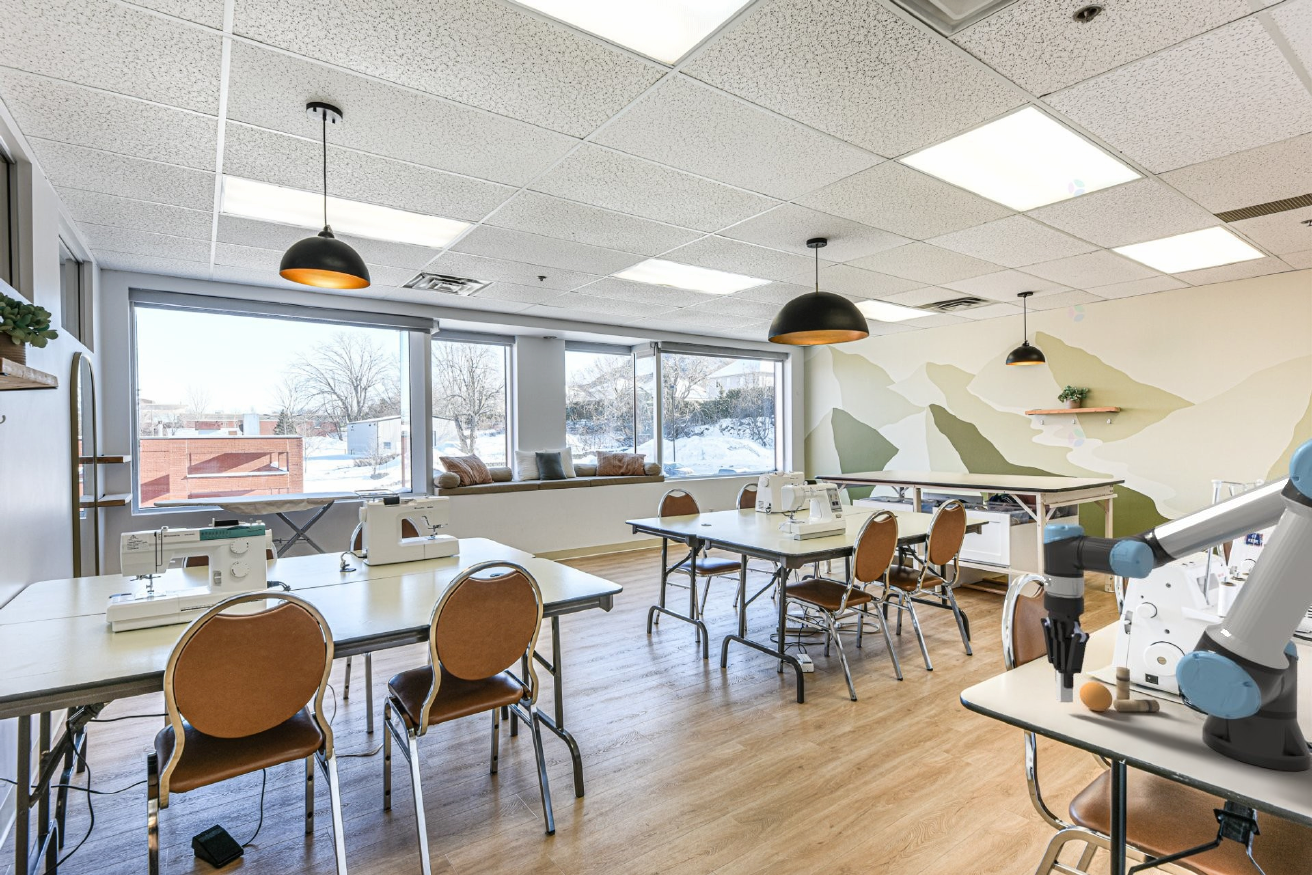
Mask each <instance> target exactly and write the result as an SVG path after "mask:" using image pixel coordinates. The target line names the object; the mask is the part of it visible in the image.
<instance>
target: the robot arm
mask: <svg viewBox="0 0 1312 875" xmlns="http://www.w3.org/2000/svg"><path fill="white" fill-rule="evenodd" d="M1288 471H1289V473H1286V474H1284V475H1282V476H1280V477H1277V478H1274V479H1272V480H1270V481H1267V482H1264V483H1261V484H1259V485H1257V486H1254V487H1252V488H1249V489H1247V490H1245V491H1242V492H1239V493H1237V494H1235V495H1231V496H1230V497H1226V498H1224V499H1221V500H1219V501H1216V502H1214V503H1212V504H1209V505H1207V506H1204V507H1202V508H1199V509H1197V510H1194V511H1191V512H1189V513H1186V514H1184V515H1182V516H1179V517H1177V518H1175V519H1172V520H1170V521H1166V522H1164V523H1162V524H1160V525H1156V526H1155V527H1152V528H1149V529H1147V530H1144V531H1141V532H1138V533H1136V534H1134V535H1128V536H1127V535H1126V536H1122V537H1120V536H1119V537H1114V538H1112V537H1111V538H1110V537H1100V536H1091V535H1088V534H1087V535H1086V534H1085V531H1084V527H1083V526H1082V525H1079V524H1074V523H1061V522H1060V523H1059V522H1057V523H1056V522H1055V523H1048V524H1046V525H1045V526H1044V528H1043V537H1042V538H1043V541H1042V545H1043V589H1044V591H1045V593H1044V594H1043V608H1044V609H1045V611H1047V612H1048V613H1047V617H1041V618H1040V623H1041V626H1042V629H1043V636H1044V642H1045V649H1046V653H1047V654H1046V655H1047V661H1048V663H1049V664H1052V666H1053V668H1054V670H1055V684H1056V686H1055V688H1056V691H1055V693H1056V694H1055V695H1056V697H1055V699H1056V701H1058V702H1060V703H1074V693H1073V692H1074V685H1075V684H1074V674H1081V673H1082V671H1083V663H1084V660H1085V654H1086V647H1087V643H1088V641H1089V640H1090V637H1091V635H1090V633H1088V632H1085V631H1083V629H1082V628H1081V627H1082V623H1081V620H1080V616H1081V615H1084V613H1085V597H1083V596H1084V594H1085V572H1093V573H1097V574H1104V575H1105V574H1106V575H1111V576H1117V577H1122V578H1125V579H1128V578H1130V579H1140V580H1141V579H1143V580H1144V579H1146V578H1147V577H1148V576H1149V575H1150V574H1152V573H1151V572H1152V571H1153V570H1156V569H1158V568H1162V567H1164V566H1166V565H1167V564H1169V563H1173V562H1175V561H1177V560H1179V559H1182V558H1183V559H1184V558H1186V557H1189V556H1191V555H1194V554H1197V553H1199V552H1203V551H1205V550H1208V549H1211V548H1214V547H1217V546H1220V545H1222V544H1226V543H1228V542H1231V541H1234V540H1237V539H1240V538H1242V537H1245V536H1249V535H1251V534H1254V533H1257V532H1260V531H1262V530H1265V529H1268V528H1272V527H1274V529H1273V531H1272V533H1271V534H1270V536H1269V538H1268V540H1267V541H1266V543H1265V545H1264V547H1263V549H1262V550H1261V552H1260V554H1259V556H1258V557H1257V560H1256V561H1255V563H1254V564H1253V566H1252V568H1251V570H1250V572H1249V573H1248V574H1247V577H1246V579H1245V581H1244V582H1243V584H1242V585H1241V588H1240V590H1239V591H1238V593H1237V594H1236V597H1235V598H1234V600H1233V602H1232V604H1231V606H1230V607H1229V609H1228V611H1227V612H1226V614H1225V616H1224V617H1223V620H1222V621H1221V623H1217V624H1211V625H1207V626H1206V628H1205V629H1204V630H1203V633H1202V634H1201V636H1200V638H1199V640H1198V641H1197V643H1196V645H1195V647H1194V648H1193V650H1192V651H1191V652H1188V653H1187V654H1184V655H1183V657H1181V659H1180V660H1179V661H1178V663H1177V665H1176V669H1175V678H1176V682H1177V685H1178V686H1179V689H1180V690H1181V693H1182V694H1183V695H1184V696H1185V697H1186V699H1188V701H1189V702H1190V703H1191V704H1193V705H1194V706H1195V707H1197V708H1198V709H1200V710H1201V711H1203V712H1205V713H1207V714H1208V715H1207V717H1206V720H1205V721H1204V723H1203V726H1202V730H1201V731H1202V732H1201V733H1202V741H1203V742H1204V744H1205V745H1207V746H1208V747H1210V748H1211V749H1213V750H1215V751H1216V752H1218V753H1221V754H1222V755H1225V756H1227V757H1228V758H1232V759H1235V760H1237V761H1240V762H1244V763H1247V764H1250V765H1254V766H1258V767H1262V768H1267V769H1271V770H1276V771H1277V770H1278V771H1287V772H1300V771H1306V770H1309V767H1310V768H1311V766H1310V765H1311V751H1310V748H1309V747H1308V744H1307V741H1306V739H1305V737H1304V735H1303V732H1302V729H1301V727H1300V725H1299V722H1298V661H1299V656H1298V649H1297V648H1298V647H1297V645H1296V644H1295V642H1293V641H1292V640H1291V639H1292V638H1293V636H1294V634H1295V633H1296V630H1297V629H1298V627H1299V626H1300V624H1301V623H1302V621H1303V619H1304V618H1305V616H1306V615H1307V613H1308V611H1309V610H1310V608H1311V606H1312V438H1310V439H1308V440H1306V441H1305V442H1303V443H1302V444H1301V445H1299V446H1298V447H1297V449H1296V450H1295V451H1294V452H1293V454H1292V455H1291V458H1290V461H1289V466H1288Z"/></svg>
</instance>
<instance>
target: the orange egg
mask: <svg viewBox="0 0 1312 875" xmlns="http://www.w3.org/2000/svg"><path fill="white" fill-rule="evenodd" d="M1079 698H1080V700H1081V702H1082V703H1083V704H1084V706H1085V707H1087V708H1089V709H1090V710H1092V711H1095V712H1104V711H1106V710H1108V709H1110V708H1111V706H1112V705H1113V696H1112V692H1110V690H1109V689H1108V688H1107V687H1106V686H1105V685H1103V684H1102V683H1099V682H1097V681H1095V682H1093V681H1090V682H1086V683H1084V684H1083V685H1082V686H1081V687H1080V689H1079Z"/></svg>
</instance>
